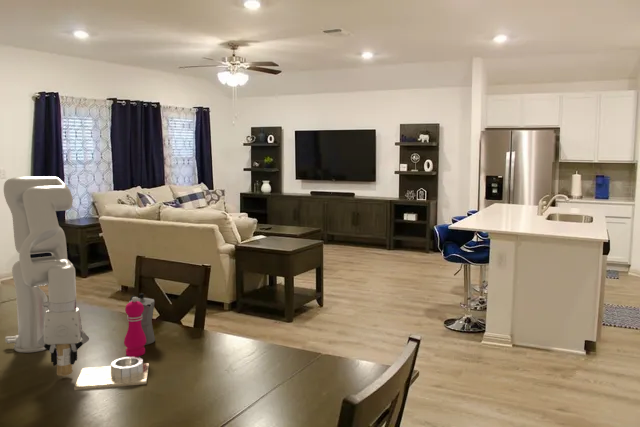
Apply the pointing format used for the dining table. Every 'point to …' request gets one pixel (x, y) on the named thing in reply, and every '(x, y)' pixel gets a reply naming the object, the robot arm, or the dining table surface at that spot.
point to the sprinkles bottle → (63, 359)
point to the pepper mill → (134, 329)
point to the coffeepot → (147, 317)
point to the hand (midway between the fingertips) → (64, 362)
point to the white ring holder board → (114, 374)
